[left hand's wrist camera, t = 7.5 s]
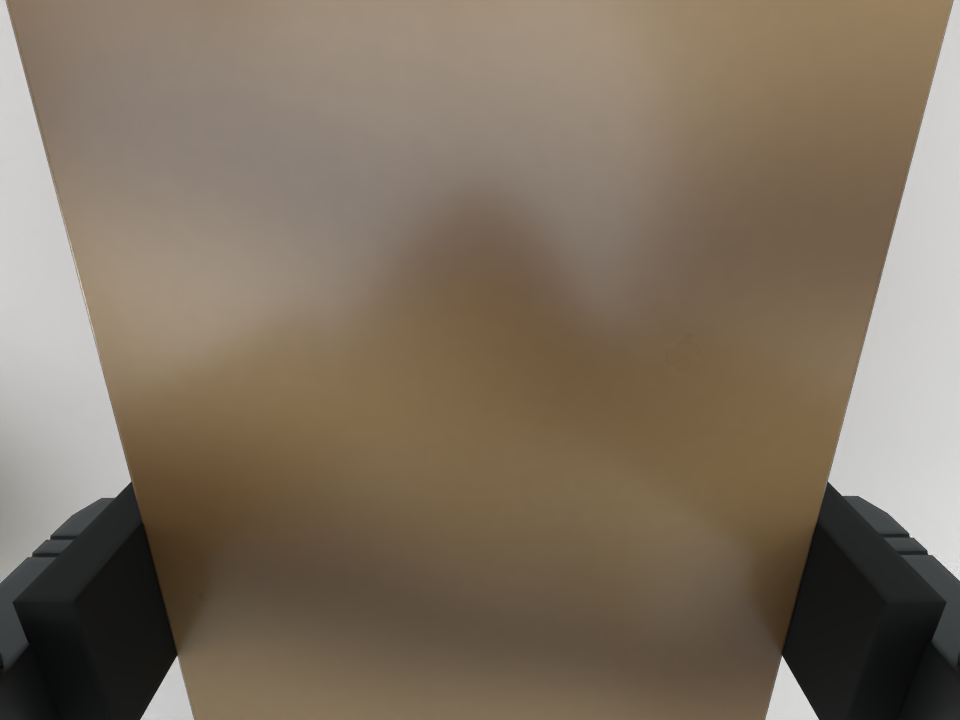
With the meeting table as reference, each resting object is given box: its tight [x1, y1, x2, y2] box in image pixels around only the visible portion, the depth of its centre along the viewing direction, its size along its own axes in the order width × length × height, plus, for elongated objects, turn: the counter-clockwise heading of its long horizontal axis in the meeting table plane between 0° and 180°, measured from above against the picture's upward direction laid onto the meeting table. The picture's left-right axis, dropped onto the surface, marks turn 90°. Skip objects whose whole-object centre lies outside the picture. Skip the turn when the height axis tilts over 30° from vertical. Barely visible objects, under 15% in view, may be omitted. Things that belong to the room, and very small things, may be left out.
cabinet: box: [6, 0, 954, 720], centre depth 11 cm, size 19×10×9 cm, turn 0°
